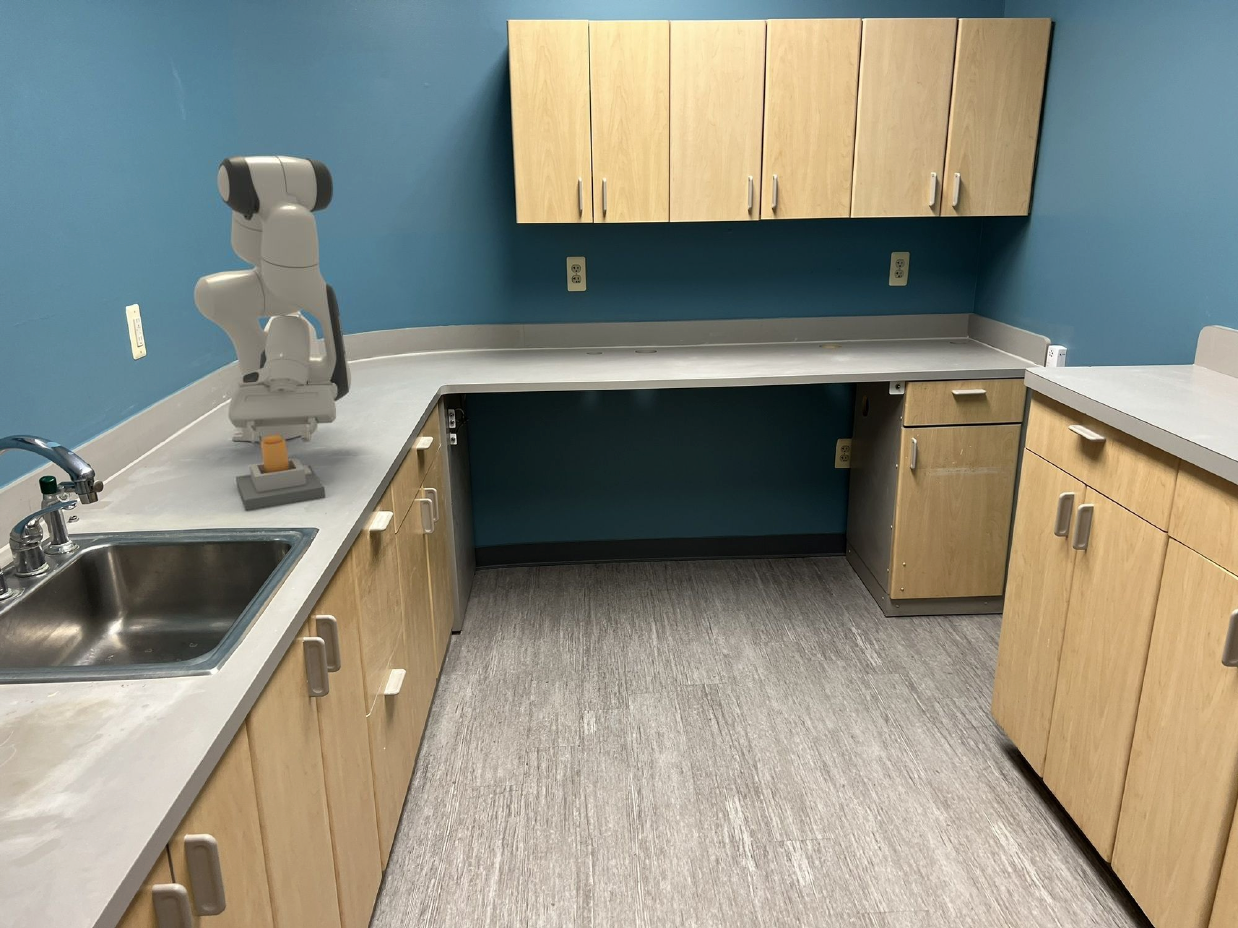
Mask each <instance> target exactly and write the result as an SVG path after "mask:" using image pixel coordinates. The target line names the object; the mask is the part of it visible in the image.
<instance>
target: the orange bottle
mask: <svg viewBox="0 0 1238 928" xmlns="http://www.w3.org/2000/svg"><path fill="white" fill-rule="evenodd" d="M286 440H287V439H285V440H284V439H282V436H281V435H268V436H265V437H264V441H263V442H261V444H260V446H261V454H262V460H263V462H262V463H264V469H265V473H271V472H278V471H284V470H289V463H288V459H289V457H288V456H289V455H288V450H287V442H286Z"/></svg>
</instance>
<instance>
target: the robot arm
mask: <svg viewBox="0 0 1238 928" xmlns="http://www.w3.org/2000/svg"><path fill="white" fill-rule="evenodd" d="M217 187H218V191H219V193H220V196H221V199H222V200H223V202H224V204H226V206H228V208H230V209H231V210H232V214H231V215H232V218H231V237H230V244H231V246H232V250H233V252H234V253H235V254H236V255H237V256H238V257H239V258H240V259H241V260H243V261H245V262H246V263H248V264H250V265H253V266H254V268H252V269H244V270H232V271H231V270H229V271H228V270H227V271H221V272H220V271H219V272H216V273H212V274H208V275H205V276H202V277H200V278H199V279H198V280H197V283H196V285H195V287H194V291H193V299H194V303H195V306H196V308H197V309H198V311H199V312H200V314H202V315H203V316H204V317H205V318H206V319H207V320H209V321H211V322H213V323H215V324H216V325H217V326H218V327H220V328H221V329H222V330H223V331H224V332H225V333H226V334H227V336H228V338H230V340H231V342H232V344H233V347H234V349H235V353H236V356H237V361H238V365H239V370H240V371H239V372H240V375H239V376H238V377H237V380H236V381H237V386H238V387H237V388H236V389H235V390H234V392H233V393H232V396H231V397H230V403H229V407H228V413H227V414H228V419H229V421H230V423H231V424H232V425H233V426H234V427H235V430H234V432H233V433H232V434H233V435H232V441H235V442H236V441H237V442H238V441H247V442H251V444H252V445H253V446H255V445H261V442H263V441H264V437H265V436H268V435H281V436H282V439H284V440H289V439H293V438H297V437H301V438H300V439H301V440H302V442H303V443H308V442H311V441H312V436H313V434H314V433H315V431H316V430H317V428H318V426H319V425H318V424H331V423H333V422H335V420H336V419H337V407H336V402H337V401H339V400H340V399H342V398H344V397H345V396H346V395H347V394H348V393H349V392H350V389H351V385H352V374H351V373H352V372H351V368H350V365H349V362H348V359H347V354H346V348H345V341H344V334H343V327H342V322H341V316H340V310H339V304H338V298H337V295H336V293H335V290H334V288H333V286H331V285H330V284H328V283H327V282H326V281H325V279H324V278H323V276H322V274H321V270H320V250H319V237H318V228H317V224H316V223H317V222H316V218H315V216H314V214H313V213H314V212H319V211H323V210H325V209H327V208H328V207H329V205H330V204H331V202H332V200H333V195H334V183H333V178H332V173H331V171H330V169H329V168H328V167H327V165H325V163H324V162H323V161H319V160H316V159H313V158H304V159H303V158H298V157H293V156H286V155H277V154H276V155H275V154H274V155H272V156H271V155H255V156H243V155H235V156H229V157H227V158H224V159H223V160H222V161H221V163H220V164H219V167H218V174H217ZM299 311H300V312H302V311H304V312H307V313H308V314H310V315H312V316H313V317H315V318H316V319H317V320H318V321H319V323H320V325H321V328H322V329H321V330H322V336H323V341H324V348H325V353H324V354H320V355H317V354H310V332H309V326H308V323H307V322H306V321H305V320H304V319H302V318H299V317H296V316H285V315H289V314H292V313H296V312H299ZM274 316H277V317H275V318H273V319H272V321H271V323H270V326H269V330H268V332H266V331H264V329H262V327H261V325H260V321H259V319H265V318H271V317H274Z"/></svg>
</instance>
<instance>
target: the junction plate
mask: <svg viewBox="0 0 1238 928" xmlns="http://www.w3.org/2000/svg"><path fill="white" fill-rule="evenodd" d="M288 463H289V470H284V471H278V472H271V473H265V469H264V462H260V463H259V462H258V463H253V464H249V469H250V474H246V475H239V476H235V481H236V486H237V489H238V493H239V495H240V498H241V500H242V503H243V505H244V508H245V511H250V510H251V509H252V510H257V509H261V507H264V508H269V507H274V506H280V504H281V505H286V504H287V505H288V504H291V503H298V501H299V502H304V501H305V502H306V501H310V500H314V499H315V500H317V499H322V498H326V491H325V485H324V484H323V483H322V482H321V481H320V478H319V477H318V476H317V475H316V472H315V471H314V470H313V469H312V467H311V466H310V465H303V464H302V463H301V462H300V460H299V458H298V457H293V458H288Z"/></svg>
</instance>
